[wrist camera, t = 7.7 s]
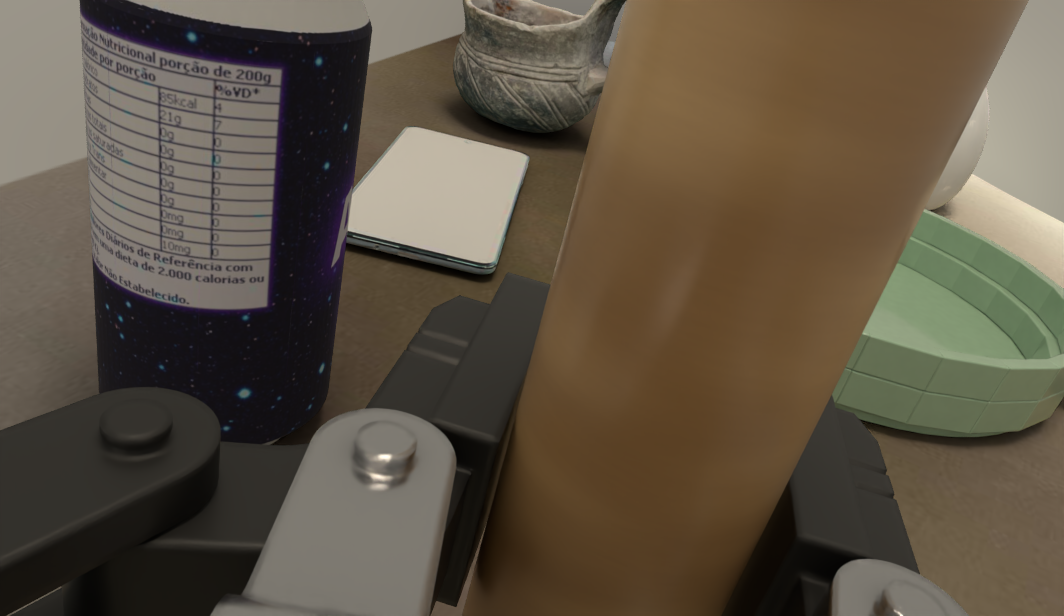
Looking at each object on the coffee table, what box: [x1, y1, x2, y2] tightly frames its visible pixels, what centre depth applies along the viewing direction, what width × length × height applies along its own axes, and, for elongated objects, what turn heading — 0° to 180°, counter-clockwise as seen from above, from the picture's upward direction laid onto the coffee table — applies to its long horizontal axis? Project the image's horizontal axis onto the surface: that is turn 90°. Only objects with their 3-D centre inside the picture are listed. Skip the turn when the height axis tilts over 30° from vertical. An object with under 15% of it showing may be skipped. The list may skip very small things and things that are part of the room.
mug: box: [453, 0, 627, 133], centre depth 49 cm, size 10×12×10 cm
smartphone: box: [346, 126, 530, 274], centre depth 38 cm, size 7×1×15 cm
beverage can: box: [80, 0, 372, 445], centre depth 19 cm, size 6×6×12 cm
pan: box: [832, 209, 1064, 437], centre depth 36 cm, size 19×19×4 cm
